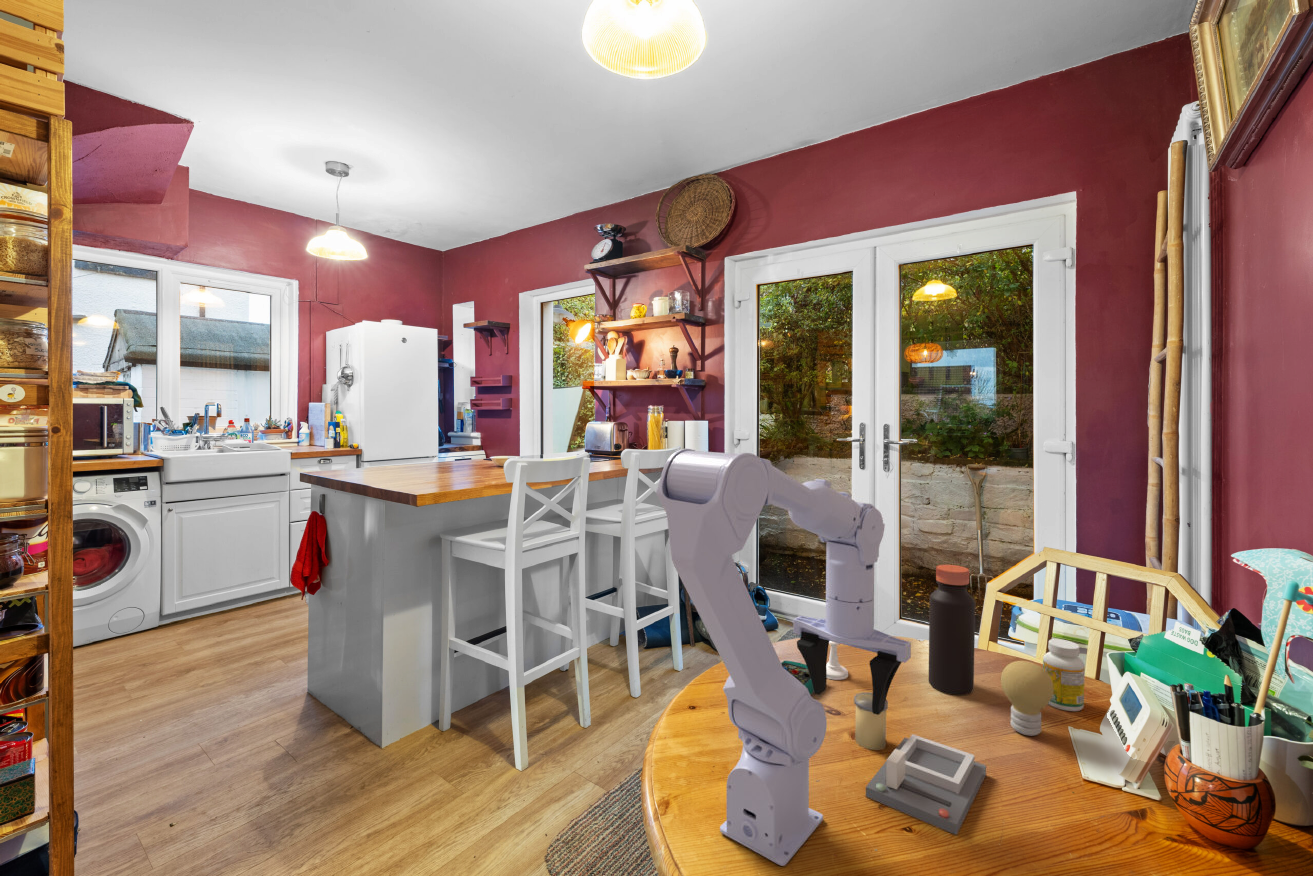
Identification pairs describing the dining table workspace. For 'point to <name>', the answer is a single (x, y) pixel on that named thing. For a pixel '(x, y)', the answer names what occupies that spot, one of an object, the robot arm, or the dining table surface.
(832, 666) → the chess piece
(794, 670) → the digital multimeter
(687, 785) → the dining table surface
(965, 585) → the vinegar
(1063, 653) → the supplement bottle
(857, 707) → the beige cylinder
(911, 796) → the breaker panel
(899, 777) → the lever
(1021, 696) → the light bulb
